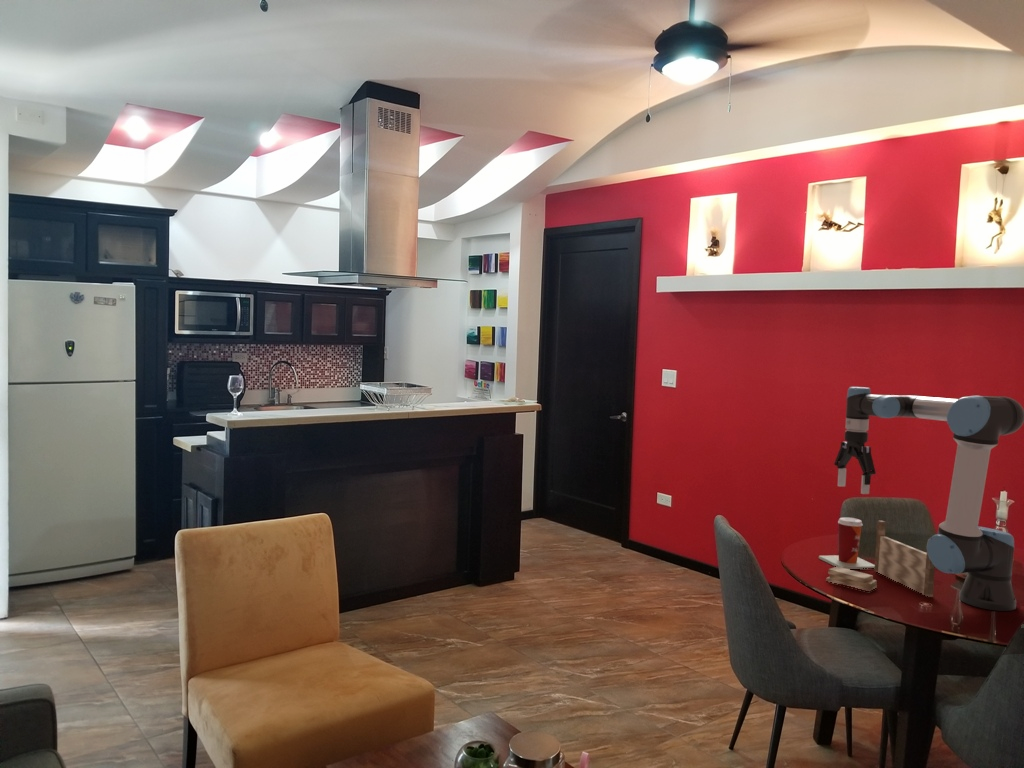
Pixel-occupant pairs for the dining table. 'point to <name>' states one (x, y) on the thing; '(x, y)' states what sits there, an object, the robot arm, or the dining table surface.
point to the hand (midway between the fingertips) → (852, 490)
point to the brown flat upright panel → (903, 563)
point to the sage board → (858, 565)
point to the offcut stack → (851, 578)
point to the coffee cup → (849, 539)
